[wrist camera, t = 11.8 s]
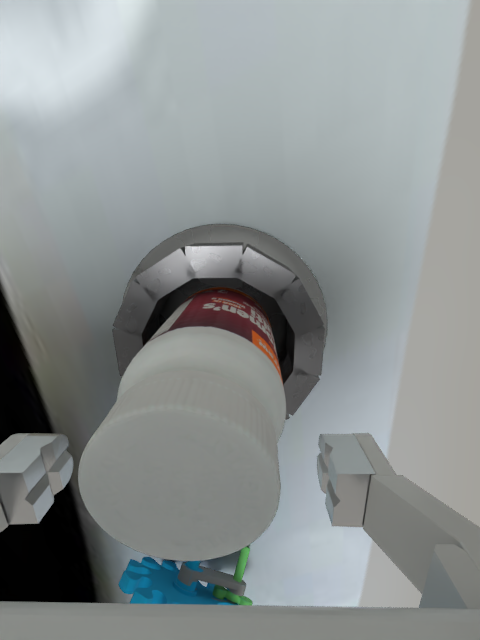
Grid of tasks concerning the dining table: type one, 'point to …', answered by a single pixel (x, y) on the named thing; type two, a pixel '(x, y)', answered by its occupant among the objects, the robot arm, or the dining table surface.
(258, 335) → the pill bottle
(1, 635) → the robot arm
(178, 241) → the notched hollow ring
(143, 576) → the gear
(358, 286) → the dining table surface
